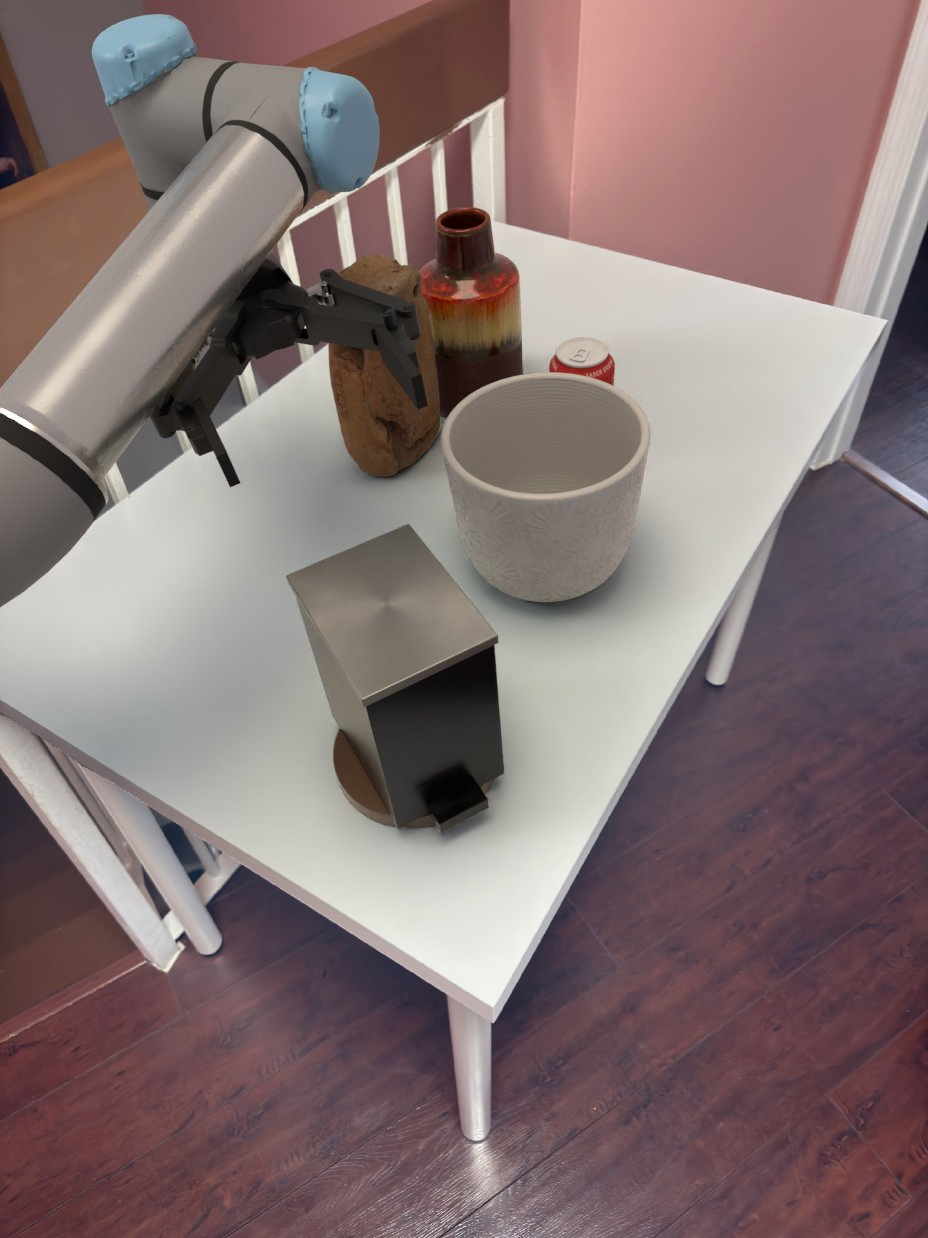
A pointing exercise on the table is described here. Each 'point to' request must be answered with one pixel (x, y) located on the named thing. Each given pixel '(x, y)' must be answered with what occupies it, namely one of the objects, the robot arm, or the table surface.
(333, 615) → the bin
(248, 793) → the table surface
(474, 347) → the vase
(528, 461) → the planter
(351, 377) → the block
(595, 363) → the beverage can
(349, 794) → the disc
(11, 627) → the table surface
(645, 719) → the table surface
